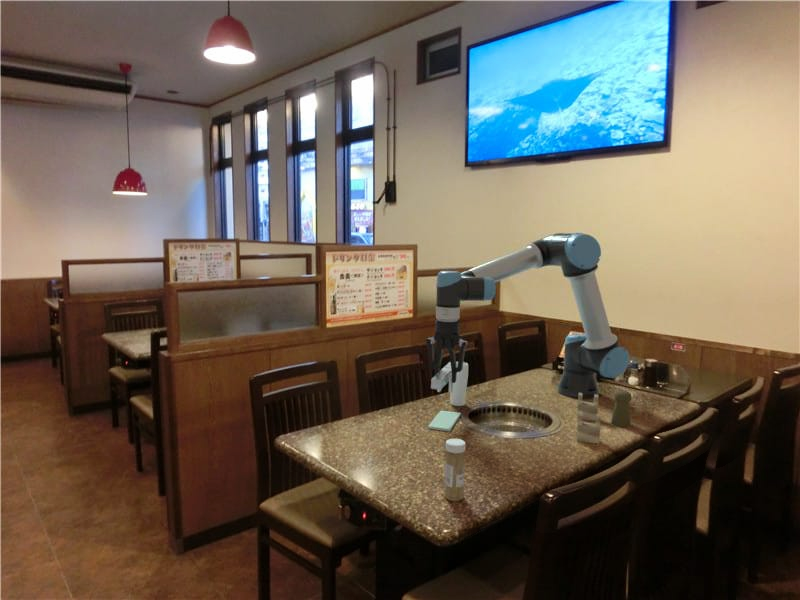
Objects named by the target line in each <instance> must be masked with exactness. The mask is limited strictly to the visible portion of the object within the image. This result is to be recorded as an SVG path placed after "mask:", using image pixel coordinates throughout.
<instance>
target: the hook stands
mask: <svg viewBox="0 0 800 600" xmlns="http://www.w3.org/2000/svg"><path fill="white" fill-rule="evenodd" d="M577 399H578V401H577V416H576V417H577V433H576V442H580V443H581V442H582V443H588V442H589V444H595V443H597V444H596V445H599V444H600V437H601V435H600V434H601V419H602V418H601V417H602V416H601V414H600V413H599V412H598V411H599V410H598V409H599V395H595V394H594V398H593V402H588V401H583V398H582V393H579V396H578V398H577ZM598 413H599V414H598ZM587 419H588V421H595V420H596V421H595V423H593V422H584V421H583V420H587Z"/></svg>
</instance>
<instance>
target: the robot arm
mask: <svg viewBox="0 0 800 600" xmlns="http://www.w3.org/2000/svg"><path fill="white" fill-rule="evenodd" d="M601 256H602V249H601V245H600V244H599V242H598V240H597V239H596V238H595V237H594V236H592V235H590V234H587V233H582V232H573V233H570V232H569V233H565V232H564V233H563V232H561V233H560V232H557V233H554V234H550V235H548V236H544V237H543V238H542V237H541V238H540V239H538V240H534V241H533V242H530V243H528V244H527V245H526V246H525V248H522V249H520V250H517V251H515V252H511V253H510V254H509V253H508V254H507V255H504V256H502V257H499V258H496V259H494V260H492V261H491V260H490V261H489V262H486V263H483V264H480V265H478V266H476V267H472V268H471V269H468V270H464V271H462V272H460V271H456V270H440V271H439V272H438V273H437V278H436V305H435V318H436V320H435V329H434V330H435V331H434V335H433V336H432V337H428V338H426V340H425V342H426V344H427V349H428V364H429V365H428V367H429V369H430V370H433V371H434V376H435V375H436V374H437V373H438V372H439V371H440V370H441V365H442V360H443V356H444V351H445V349H446V350H448V353H449V360H450V361H449V362H451V370H452V371H451V372H450V373H449V381H448V394H450V393H452V391H453V383H455V382H456V375H457V372H460V371H461V370H462V369H463V362H465V361H464V360H465V351H466V347H467V345H468V344H469V343H468V340H464V339H462V338H461V336H460V321H459V320H460V317H461V316H460V314H461V312H460V311H461V302H466V301H467V302H469V301H473V302H474V301H476V302H478V301H479V302H481V301H482V302H484V301H491V300H494V297H495V296H496V290H497V286H496V283H498V282H500V281H503V280H505V279H507V278H510V277H513V276H515V275H518V274H521V273H523V272H525V271H528V270H530V269H541V268H543V267H548V266H554V267H555V266H556V267H561V272H562V274H563V276H564V278H566V279H569V283H570V285H571V289H572V292H573V295H574V299H575V302H576V307H577V310H578V314H579V316H580V320H581V324H582V327H583V330H584V331H583V332H584V333H582V334H581V333H580V334H578V333H577V334H575V333H574V334H568V335H566V336H565V342H564V350H563V351H564V354H563V355H564V356H563V357H564V358H563V373H562V375H561V378H560V380H559V382H558V385H557V392H558V393H560V394H561V395H563V396H566V397H571V398H576V399H578V396H579V393H582V399H594V394H595V395H598V396H599V394H600V388H599V384H598V381H597V377H596V374H597V375H599V376H602V377H604V378H610V379H616V378H619V377H621V376H622V375H623V374H624V373H625V372H626V370H627V368H628V366H629V363H630V354H629V351H628V350H627V349H625V347H622V346H620V343H619V340H618V339H619V338H618V336H617V335H616V334H614V333H612V330H611V327H610V323H609V320H608V316H607V313H606V309H605V305H604V302H603V298H602V294H601V291H600V287H599V284H598V280H597V277H596V276H597V275H596V271H597V270H598V268H599V266H598V263H599V262H600V260H601V259H600V257H601ZM435 343H436V344H437V346H438V348H437V355H436V359H435V346H434V345H435ZM458 343H459V344H458ZM457 345H459V353H458V361H457V358H456V357H457V356H456V346H457ZM456 362H458V368H457V366H456ZM442 389H443V388H442ZM442 389H441V390H438V389H436V391H437V393H440V392H441V391H442Z"/></svg>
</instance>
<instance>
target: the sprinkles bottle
mask: <svg viewBox="0 0 800 600" xmlns="http://www.w3.org/2000/svg"><path fill="white" fill-rule="evenodd" d="M445 452H446V453H445V460H446V461H445V470H444V471H445V475H444V476H445V478H444V479H445V480H444V481H445V492H444V497H445V498H446V499H447V500H449V501H453V502H459V501H461V500H463V499H464V498H465V494H464V490H465V487H464V485H465V453H466V441H465V440H463V439H461V438H449V439H447V440H446V441H445Z"/></svg>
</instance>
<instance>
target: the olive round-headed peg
mask: <svg viewBox="0 0 800 600" xmlns="http://www.w3.org/2000/svg"><path fill="white" fill-rule="evenodd" d="M613 397H614V400H615V404H614V407H613V411H612V412H613V413H612V415H611V420H610V423H611V425H612V424H613V425H612V426H614V425H615V427H619V428H630V427H631V426H632V421H631V408H630V402H631V401H632V394H631V392H630V391H627V390H616V391H615V392H614V395H613Z"/></svg>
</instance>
